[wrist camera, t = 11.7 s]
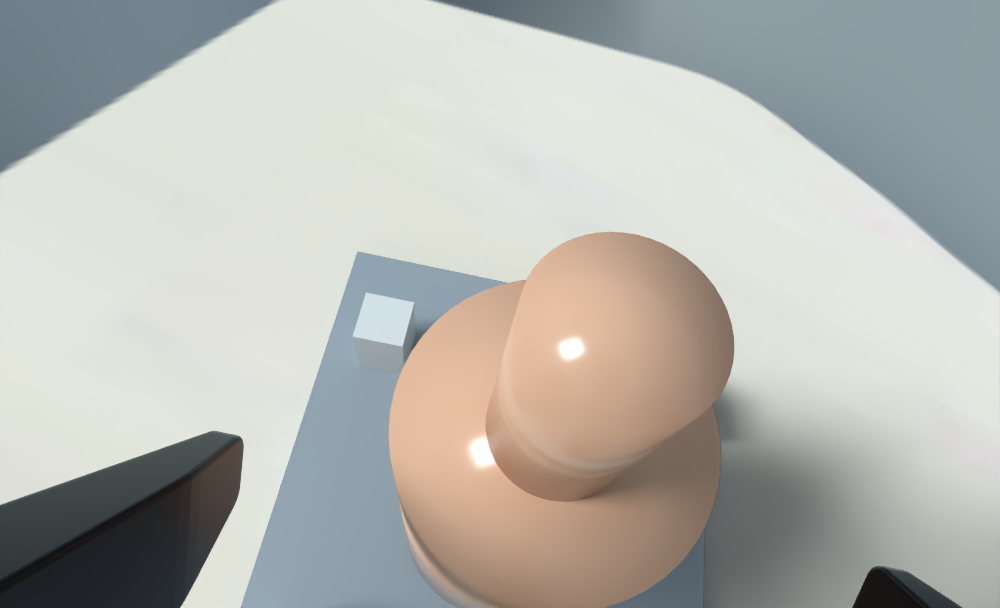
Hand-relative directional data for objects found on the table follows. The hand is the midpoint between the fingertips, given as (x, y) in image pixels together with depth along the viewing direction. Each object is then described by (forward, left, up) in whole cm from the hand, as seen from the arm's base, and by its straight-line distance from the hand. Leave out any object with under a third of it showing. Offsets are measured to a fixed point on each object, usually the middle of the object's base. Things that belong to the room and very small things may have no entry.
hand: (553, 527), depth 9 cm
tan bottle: (+1, -1, -11) cm, 11 cm away
